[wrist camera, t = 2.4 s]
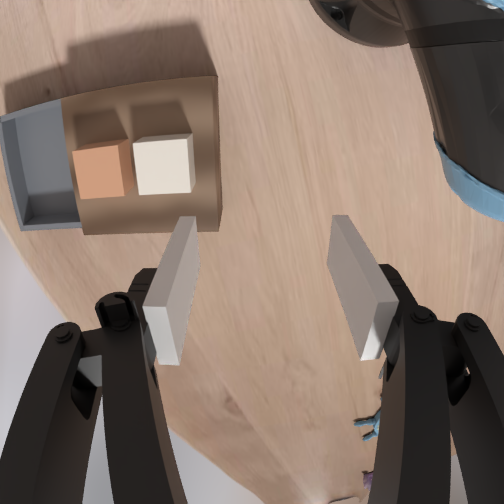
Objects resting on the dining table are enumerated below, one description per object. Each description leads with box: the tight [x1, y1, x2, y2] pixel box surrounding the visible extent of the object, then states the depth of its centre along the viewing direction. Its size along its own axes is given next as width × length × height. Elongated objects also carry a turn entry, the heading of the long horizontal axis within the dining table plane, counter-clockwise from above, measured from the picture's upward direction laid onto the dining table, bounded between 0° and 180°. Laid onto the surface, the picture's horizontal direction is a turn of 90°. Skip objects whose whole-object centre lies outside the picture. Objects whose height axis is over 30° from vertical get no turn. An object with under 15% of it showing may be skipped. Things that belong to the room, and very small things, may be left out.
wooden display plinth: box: [61, 76, 223, 235], centre depth 33 cm, size 16×16×6 cm
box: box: [0, 99, 82, 231], centre depth 34 cm, size 16×12×4 cm
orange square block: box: [72, 139, 134, 199], centre depth 29 cm, size 5×5×3 cm
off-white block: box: [133, 133, 196, 195], centre depth 29 cm, size 5×5×3 cm
